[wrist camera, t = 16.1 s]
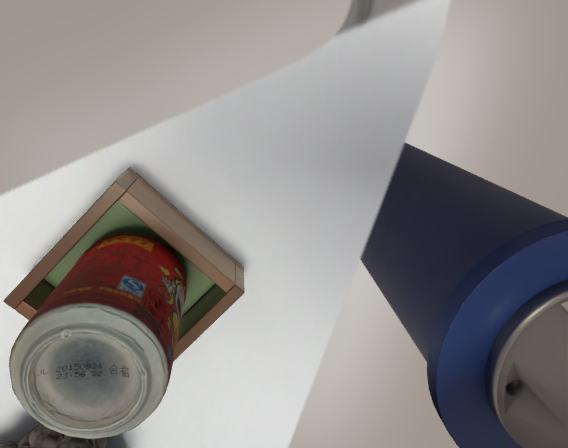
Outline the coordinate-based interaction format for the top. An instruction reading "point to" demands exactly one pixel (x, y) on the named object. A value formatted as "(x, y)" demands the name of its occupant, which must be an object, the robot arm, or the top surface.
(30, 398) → the soda can
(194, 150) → the top surface
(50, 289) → the wooden box tray
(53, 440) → the fruit
